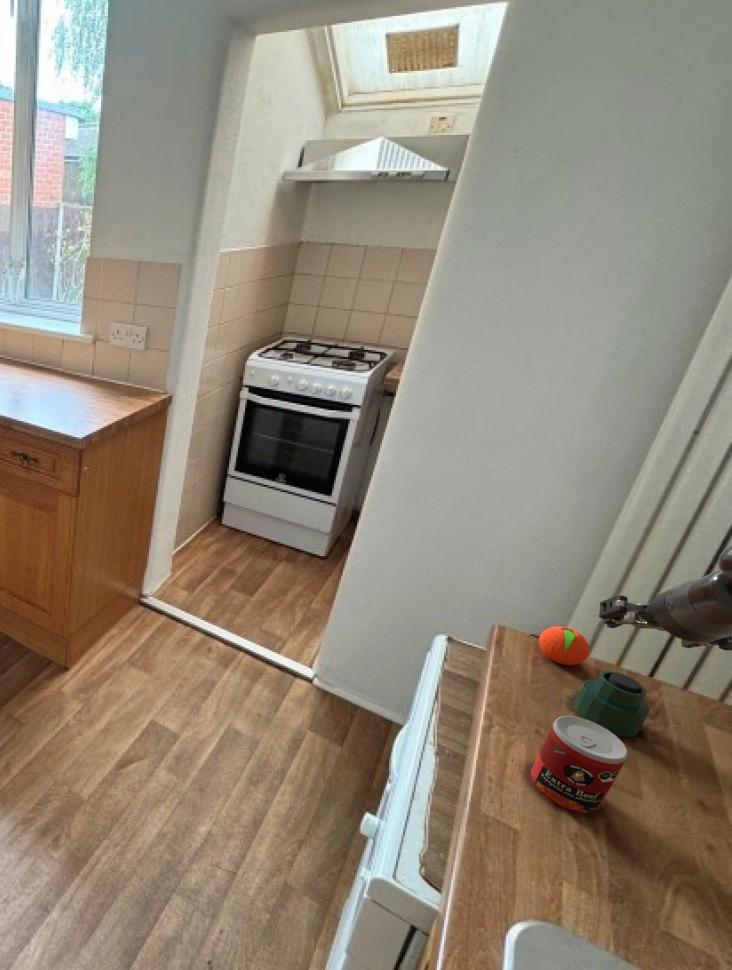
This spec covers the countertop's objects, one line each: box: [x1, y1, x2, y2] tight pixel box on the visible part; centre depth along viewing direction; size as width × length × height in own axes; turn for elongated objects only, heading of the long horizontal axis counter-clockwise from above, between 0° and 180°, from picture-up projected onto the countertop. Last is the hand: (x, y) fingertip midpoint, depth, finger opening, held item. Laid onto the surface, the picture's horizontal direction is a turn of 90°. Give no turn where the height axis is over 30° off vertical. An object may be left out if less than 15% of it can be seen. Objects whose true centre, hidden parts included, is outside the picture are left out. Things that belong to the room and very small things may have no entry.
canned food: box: [530, 715, 629, 814], centre depth 87 cm, size 8×8×11 cm
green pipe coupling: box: [573, 670, 651, 738], centre depth 100 cm, size 8×8×8 cm
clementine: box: [538, 626, 591, 666], centre depth 113 cm, size 8×7×7 cm
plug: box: [608, 672, 641, 693], centre depth 99 cm, size 3×3×8 cm
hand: (646, 631), depth 96 cm, fingers open, 8 cm apart
